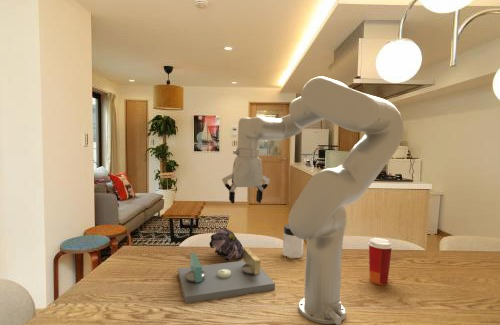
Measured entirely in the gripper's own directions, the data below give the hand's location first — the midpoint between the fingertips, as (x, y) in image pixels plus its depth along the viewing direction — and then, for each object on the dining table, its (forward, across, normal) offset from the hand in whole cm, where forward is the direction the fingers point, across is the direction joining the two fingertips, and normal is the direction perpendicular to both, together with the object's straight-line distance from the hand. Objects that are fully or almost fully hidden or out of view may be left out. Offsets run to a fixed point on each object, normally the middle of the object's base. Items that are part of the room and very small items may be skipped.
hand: (245, 202), depth 103 cm
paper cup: (+24, +43, -19) cm, 53 cm away
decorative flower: (+26, -2, +16) cm, 31 cm away
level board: (+26, -8, -5) cm, 27 cm away
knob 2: (+23, +2, -5) cm, 24 cm away
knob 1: (+23, -17, -6) cm, 30 cm away
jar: (+26, +25, +11) cm, 38 cm away
